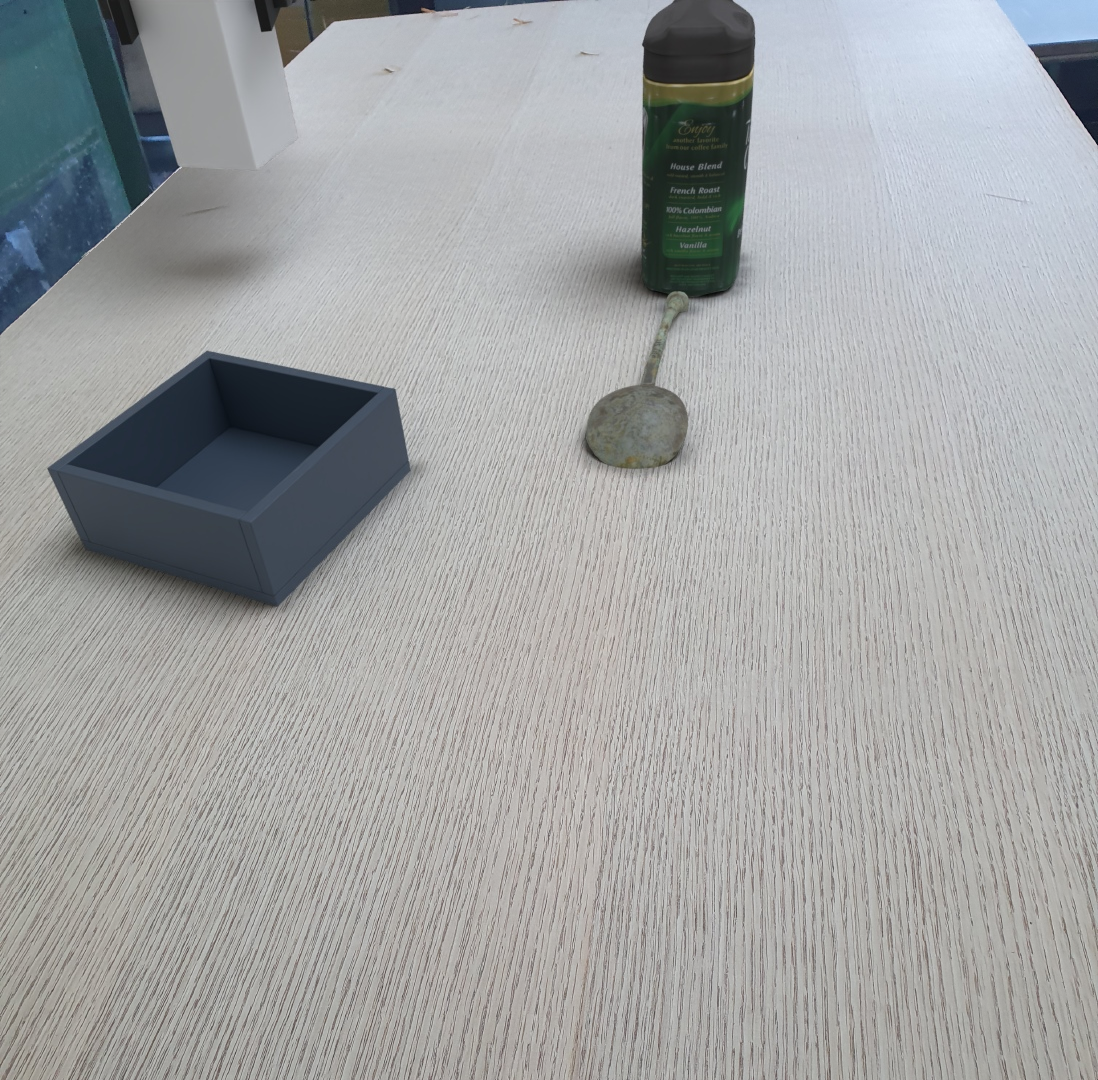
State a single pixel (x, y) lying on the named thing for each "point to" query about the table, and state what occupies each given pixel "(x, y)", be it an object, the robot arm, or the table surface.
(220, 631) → the table surface
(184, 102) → the milk carton
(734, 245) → the coffee jar
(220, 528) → the bin
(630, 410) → the soupspoon
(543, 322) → the table surface
